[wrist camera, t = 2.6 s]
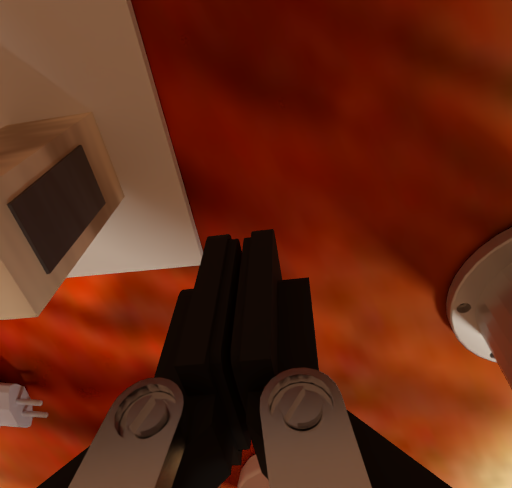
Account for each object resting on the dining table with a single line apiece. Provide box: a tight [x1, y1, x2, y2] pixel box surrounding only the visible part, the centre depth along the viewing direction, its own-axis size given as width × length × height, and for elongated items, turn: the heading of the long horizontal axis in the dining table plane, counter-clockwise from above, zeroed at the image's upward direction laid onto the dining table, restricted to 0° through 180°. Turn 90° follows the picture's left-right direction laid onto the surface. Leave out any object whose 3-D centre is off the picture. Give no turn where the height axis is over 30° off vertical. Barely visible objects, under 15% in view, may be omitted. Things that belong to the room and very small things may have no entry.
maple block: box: [0, 112, 125, 320], centre depth 18 cm, size 5×5×10 cm
